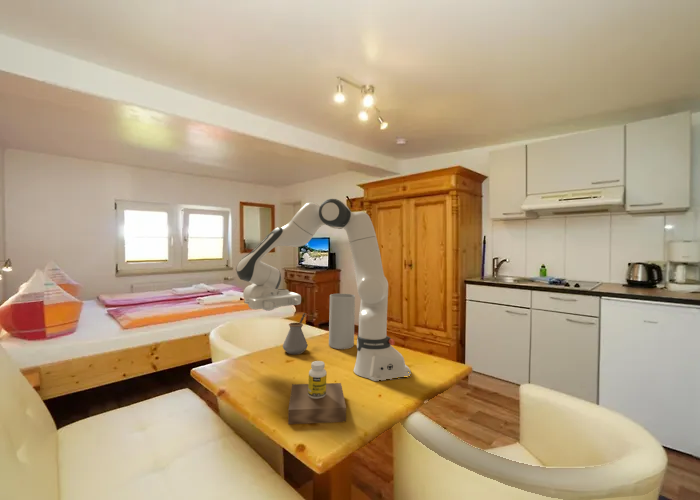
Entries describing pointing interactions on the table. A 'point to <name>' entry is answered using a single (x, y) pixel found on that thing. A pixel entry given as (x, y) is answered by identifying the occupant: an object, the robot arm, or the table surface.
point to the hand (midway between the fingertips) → (285, 304)
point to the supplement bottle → (317, 380)
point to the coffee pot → (295, 339)
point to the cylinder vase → (341, 321)
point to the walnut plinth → (316, 405)
